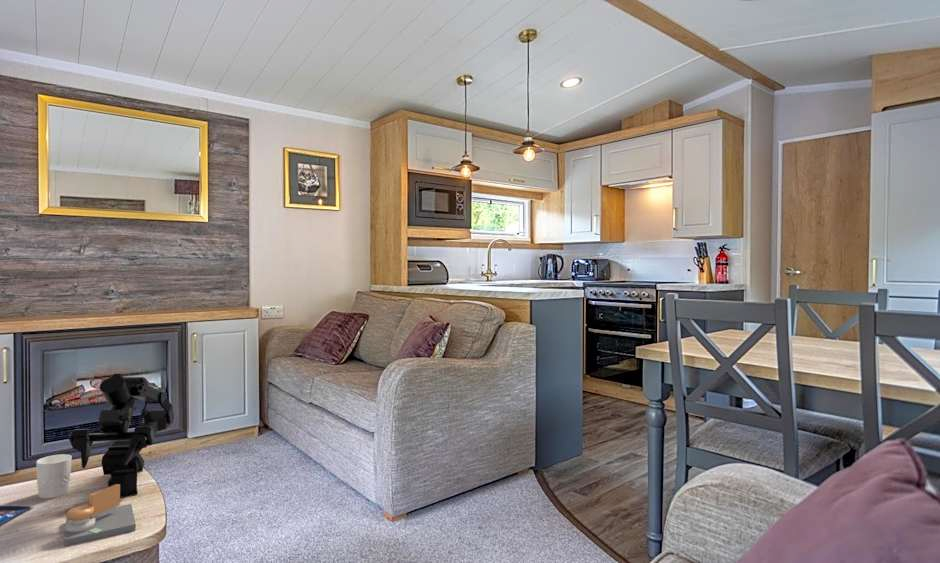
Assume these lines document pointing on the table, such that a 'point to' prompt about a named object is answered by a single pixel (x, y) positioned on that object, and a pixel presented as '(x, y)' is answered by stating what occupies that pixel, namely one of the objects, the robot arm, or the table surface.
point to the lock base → (100, 525)
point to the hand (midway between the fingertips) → (104, 466)
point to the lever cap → (97, 503)
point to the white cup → (53, 475)
